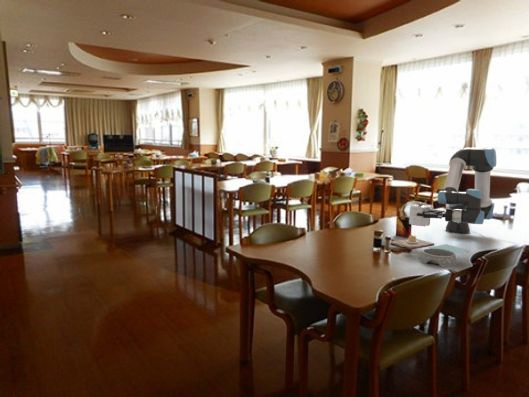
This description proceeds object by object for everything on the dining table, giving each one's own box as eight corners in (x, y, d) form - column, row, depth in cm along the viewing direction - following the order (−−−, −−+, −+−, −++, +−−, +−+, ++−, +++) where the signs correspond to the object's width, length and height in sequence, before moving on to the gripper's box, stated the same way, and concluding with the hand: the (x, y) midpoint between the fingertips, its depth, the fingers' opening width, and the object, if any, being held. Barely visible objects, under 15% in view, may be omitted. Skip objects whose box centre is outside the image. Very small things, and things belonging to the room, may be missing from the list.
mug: (410, 239, 248) (411, 221, 246) (392, 235, 260) (393, 217, 258) (419, 237, 253) (420, 219, 251) (401, 233, 265) (402, 216, 263)
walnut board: (413, 240, 246) (413, 237, 246) (434, 245, 232) (434, 243, 232) (390, 243, 237) (390, 241, 237) (410, 250, 223) (410, 247, 223)
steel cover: (411, 221, 237) (412, 201, 235) (430, 223, 232) (431, 202, 230) (407, 224, 228) (409, 203, 226) (427, 226, 222) (428, 205, 220)
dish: (411, 240, 239) (412, 233, 238) (420, 243, 233) (421, 235, 232) (403, 241, 236) (403, 234, 235) (412, 244, 230) (413, 236, 229)
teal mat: (445, 244, 234) (446, 244, 234) (470, 251, 220) (470, 250, 220) (427, 248, 227) (427, 247, 227) (451, 255, 213) (451, 254, 213)
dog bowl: (424, 255, 214) (425, 245, 214) (460, 261, 203) (461, 251, 202) (414, 262, 201) (415, 252, 200) (452, 269, 190) (453, 259, 189)
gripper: (450, 225, 210) (408, 221, 221) (454, 218, 230) (416, 214, 241) (451, 212, 209) (409, 208, 220) (455, 206, 229) (416, 203, 240)
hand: (413, 211), depth 231 cm, fingers closed on steel cover, 11 cm apart
